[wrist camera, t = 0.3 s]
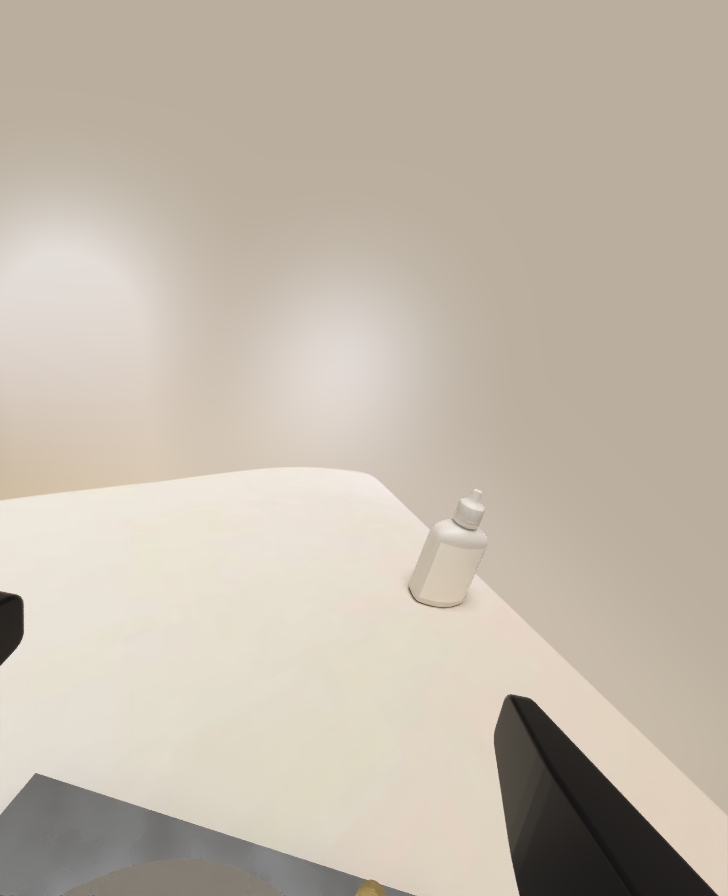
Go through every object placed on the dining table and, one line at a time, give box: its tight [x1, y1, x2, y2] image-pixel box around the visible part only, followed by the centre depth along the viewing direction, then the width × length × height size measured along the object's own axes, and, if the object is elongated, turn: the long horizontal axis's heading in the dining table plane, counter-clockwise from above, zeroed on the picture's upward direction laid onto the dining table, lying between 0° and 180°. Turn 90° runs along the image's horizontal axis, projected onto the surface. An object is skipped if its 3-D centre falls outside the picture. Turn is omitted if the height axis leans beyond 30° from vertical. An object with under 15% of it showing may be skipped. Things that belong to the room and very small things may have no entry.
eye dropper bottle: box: [409, 489, 488, 607], centre depth 36 cm, size 4×6×12 cm
